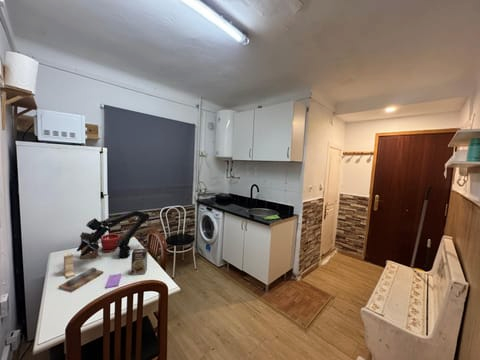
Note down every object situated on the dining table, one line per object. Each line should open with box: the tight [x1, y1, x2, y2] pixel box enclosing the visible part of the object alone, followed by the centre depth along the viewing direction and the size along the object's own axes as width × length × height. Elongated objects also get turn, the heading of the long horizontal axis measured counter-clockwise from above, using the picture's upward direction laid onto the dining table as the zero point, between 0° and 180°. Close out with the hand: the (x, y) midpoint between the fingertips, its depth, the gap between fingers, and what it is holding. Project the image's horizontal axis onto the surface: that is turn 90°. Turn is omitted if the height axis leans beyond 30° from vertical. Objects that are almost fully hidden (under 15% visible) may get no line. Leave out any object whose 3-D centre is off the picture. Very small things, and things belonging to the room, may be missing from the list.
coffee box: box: [130, 248, 149, 276], centre depth 133 cm, size 9×6×16 cm
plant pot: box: [100, 233, 121, 253], centre depth 162 cm, size 13×13×12 cm
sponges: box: [104, 273, 122, 289], centre depth 122 cm, size 7×13×2 cm, turn 24°
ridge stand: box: [58, 267, 104, 293], centre depth 121 cm, size 20×10×4 cm, turn 168°
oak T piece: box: [61, 252, 76, 280], centre depth 126 cm, size 12×4×13 cm, turn 54°
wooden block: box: [79, 240, 99, 260], centre depth 148 cm, size 4×11×18 cm, turn 109°
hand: (79, 253), depth 130 cm, fingers open, 9 cm apart
